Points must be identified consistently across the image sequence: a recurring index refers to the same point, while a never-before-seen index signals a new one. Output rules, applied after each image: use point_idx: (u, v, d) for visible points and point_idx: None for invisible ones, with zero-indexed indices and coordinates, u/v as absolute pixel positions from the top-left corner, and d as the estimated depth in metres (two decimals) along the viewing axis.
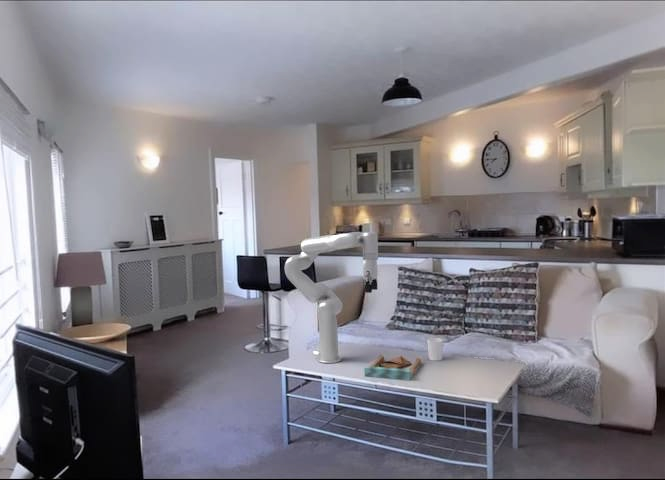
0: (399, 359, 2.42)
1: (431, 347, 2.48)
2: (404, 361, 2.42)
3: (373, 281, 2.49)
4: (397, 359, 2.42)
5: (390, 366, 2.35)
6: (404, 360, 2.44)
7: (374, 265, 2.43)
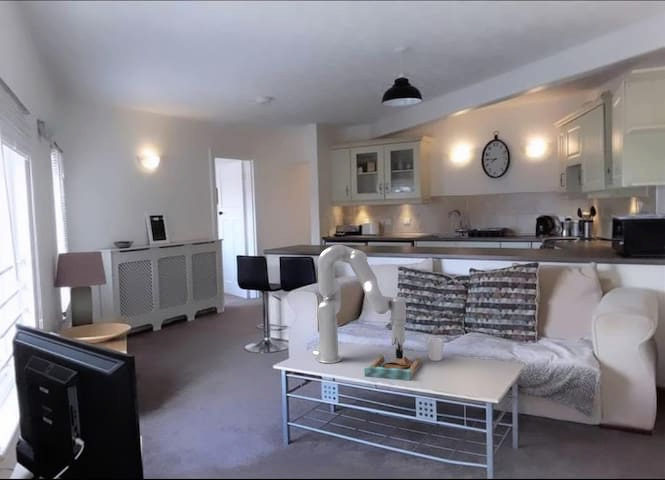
0: (403, 360, 2.40)
1: (431, 347, 2.48)
2: (408, 362, 2.40)
3: None
4: (401, 360, 2.40)
5: (393, 367, 2.34)
6: (408, 361, 2.41)
7: (403, 331, 2.44)
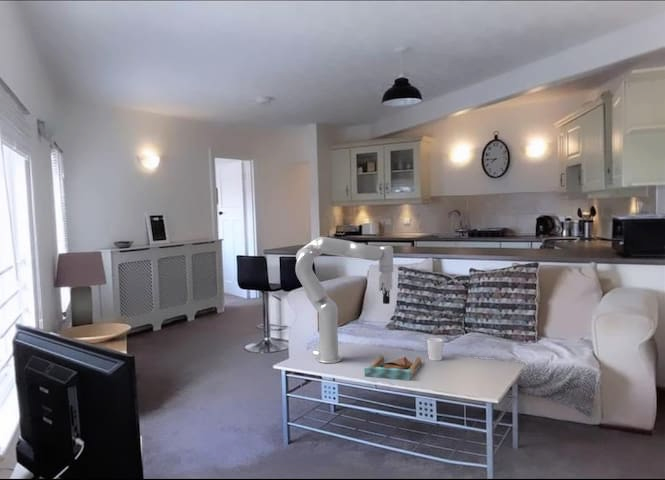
0: (402, 361, 2.39)
1: (431, 347, 2.48)
2: (407, 363, 2.39)
3: None
4: (400, 361, 2.39)
5: (392, 367, 2.33)
6: (407, 362, 2.41)
7: (389, 277, 2.58)
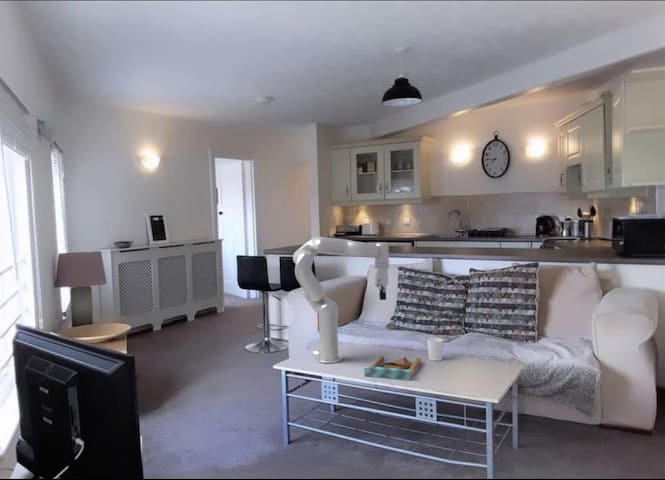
0: (402, 361, 2.39)
1: (431, 347, 2.48)
2: (407, 363, 2.39)
3: None
4: (400, 361, 2.39)
5: None
6: (407, 362, 2.40)
7: (386, 274, 2.61)
